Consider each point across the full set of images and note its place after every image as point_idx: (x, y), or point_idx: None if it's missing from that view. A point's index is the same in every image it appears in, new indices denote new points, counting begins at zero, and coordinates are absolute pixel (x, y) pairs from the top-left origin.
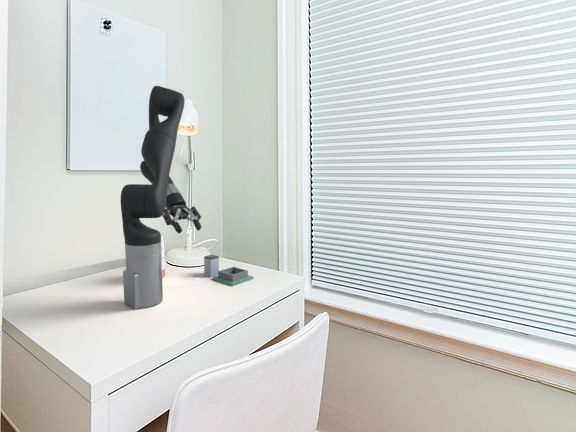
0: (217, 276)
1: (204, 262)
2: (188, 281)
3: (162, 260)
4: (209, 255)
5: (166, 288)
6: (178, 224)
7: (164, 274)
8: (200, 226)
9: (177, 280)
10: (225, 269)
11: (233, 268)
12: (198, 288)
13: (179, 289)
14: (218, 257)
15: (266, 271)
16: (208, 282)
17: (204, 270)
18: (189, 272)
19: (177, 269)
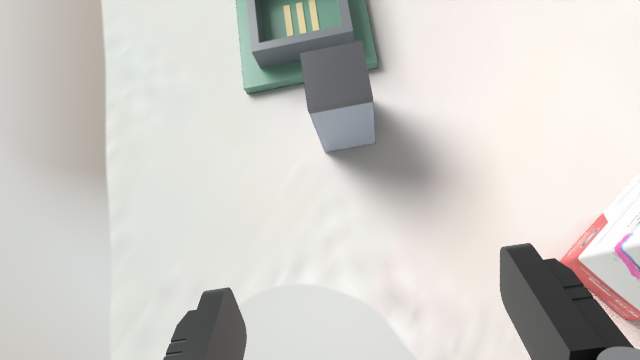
0: None
1: (372, 112)
2: (482, 107)
3: (637, 217)
4: (333, 98)
5: (610, 77)
6: (564, 310)
7: (567, 256)
8: (211, 294)
9: (523, 150)
10: (310, 33)
11: (260, 46)
12: (482, 6)
13: (560, 36)
14: (303, 57)
15: (130, 33)
16: (411, 46)
17: (374, 132)
18: (414, 235)
19: (447, 338)
